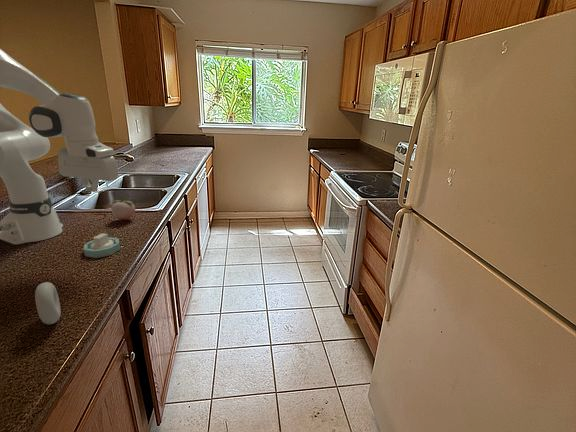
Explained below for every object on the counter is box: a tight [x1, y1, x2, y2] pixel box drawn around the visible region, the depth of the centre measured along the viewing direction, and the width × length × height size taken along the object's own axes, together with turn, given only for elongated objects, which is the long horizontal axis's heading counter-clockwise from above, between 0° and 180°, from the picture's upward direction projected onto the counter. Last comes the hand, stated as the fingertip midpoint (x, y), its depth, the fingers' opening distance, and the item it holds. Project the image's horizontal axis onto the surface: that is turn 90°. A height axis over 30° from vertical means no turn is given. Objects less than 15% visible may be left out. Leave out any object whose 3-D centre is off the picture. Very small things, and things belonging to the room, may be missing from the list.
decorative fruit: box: [111, 198, 136, 221], centre depth 135 cm, size 9×8×10 cm
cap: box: [90, 232, 114, 250], centre depth 110 cm, size 7×7×4 cm
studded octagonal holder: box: [83, 236, 121, 259], centre depth 110 cm, size 11×11×2 cm
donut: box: [34, 281, 62, 326], centre depth 74 cm, size 10×3×10 cm, turn 32°
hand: (92, 191), depth 104 cm, fingers closed
